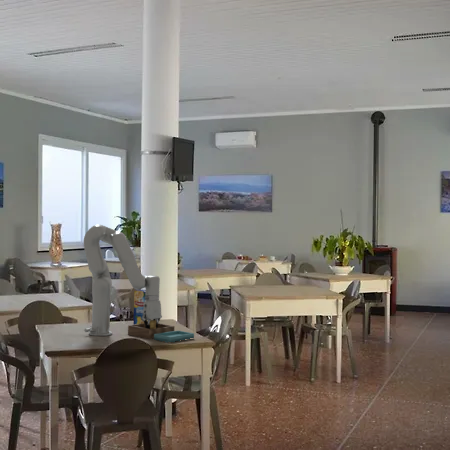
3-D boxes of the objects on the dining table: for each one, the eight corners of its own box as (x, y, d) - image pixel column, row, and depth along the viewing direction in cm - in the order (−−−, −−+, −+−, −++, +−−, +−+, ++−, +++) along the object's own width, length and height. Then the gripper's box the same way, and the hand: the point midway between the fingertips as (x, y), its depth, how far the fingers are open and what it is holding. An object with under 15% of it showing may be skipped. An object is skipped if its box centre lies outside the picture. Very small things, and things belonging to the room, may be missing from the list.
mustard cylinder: (150, 336, 348) (151, 321, 348) (144, 334, 351) (145, 320, 351) (157, 334, 352) (158, 320, 352) (151, 333, 355) (151, 319, 355)
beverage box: (146, 330, 367) (147, 291, 367) (133, 327, 373) (134, 290, 373) (154, 328, 372) (156, 291, 372) (141, 326, 379) (142, 289, 379)
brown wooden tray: (150, 338, 339) (150, 329, 339) (127, 334, 350) (128, 325, 350) (174, 335, 352) (174, 326, 352) (151, 330, 364) (152, 322, 364)
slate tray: (170, 343, 329) (170, 337, 329) (154, 339, 337) (154, 334, 337) (193, 338, 343) (194, 333, 343) (178, 335, 350) (178, 330, 350)
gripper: (145, 299, 342) (144, 333, 342) (168, 297, 355) (167, 330, 355) (136, 298, 347) (135, 331, 347) (158, 296, 360) (157, 328, 360)
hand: (151, 330), depth 351 cm, fingers closed on mustard cylinder, 5 cm apart
